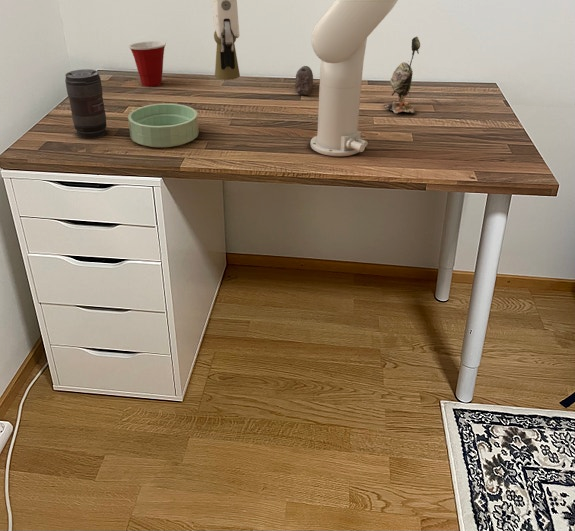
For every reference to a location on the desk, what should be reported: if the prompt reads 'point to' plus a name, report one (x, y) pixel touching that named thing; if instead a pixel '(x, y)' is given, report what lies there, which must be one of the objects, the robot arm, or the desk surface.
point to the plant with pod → (403, 83)
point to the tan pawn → (220, 73)
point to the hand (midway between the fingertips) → (226, 65)
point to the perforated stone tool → (304, 80)
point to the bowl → (163, 125)
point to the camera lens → (86, 102)
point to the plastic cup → (149, 61)
